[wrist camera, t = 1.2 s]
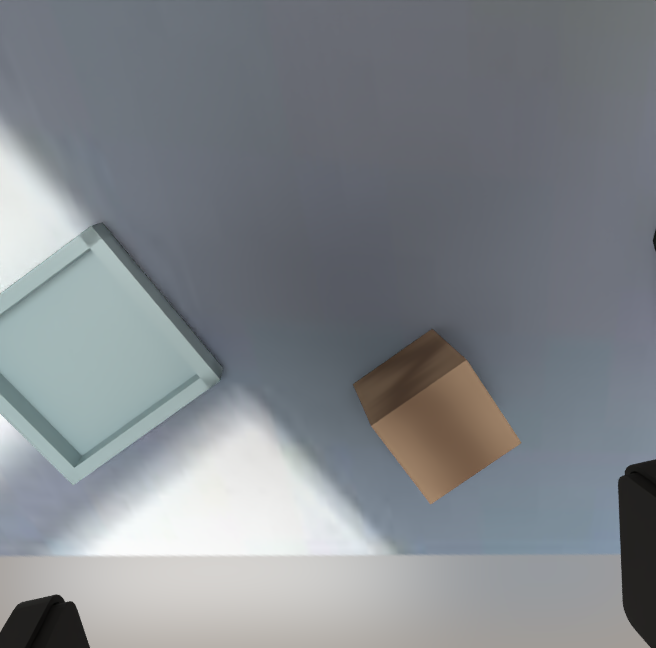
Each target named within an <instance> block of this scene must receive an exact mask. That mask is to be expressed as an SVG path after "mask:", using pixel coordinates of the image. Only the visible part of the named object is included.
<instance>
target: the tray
mask: <svg viewBox="0 0 656 648" xmlns="http://www.w3.org/2000/svg"><path fill="white" fill-rule="evenodd" d="M222 371H223V368H222V367H221V365H220V364H219V363H218V362H217V361H216V359H215V358H214V357H213V356H212V355H211V353H210V352H209V351H208V350H207V349H206V347H205V346H204V345H203V344H202V342H201V341H200V340H199V339H198V338H197V336H196V335H195V334H194V333H193V332H192V330H191V329H190V328H189V327H188V326H187V324H186V323H185V322H184V321H183V320H182V318H181V317H180V316H179V315H178V314H177V312H176V311H175V310H174V309H173V308H172V306H171V305H170V304H169V303H168V302H167V300H166V299H165V298H164V297H163V296H162V294H161V293H160V292H159V291H158V289H157V288H156V287H155V286H154V285H153V283H152V282H151V281H150V280H149V279H148V277H147V276H146V275H145V274H144V273H143V271H142V270H141V269H140V268H139V267H138V265H137V264H136V263H135V262H134V261H133V259H132V258H131V257H130V256H129V255H128V253H127V252H126V251H125V250H124V249H123V247H122V246H121V245H120V244H119V243H118V241H117V240H116V239H115V238H114V236H113V235H112V234H111V233H110V232H109V230H108V229H107V228H106V227H105V226H104V224H103V223H100V224H96V225H93V226H90V227H89V228H88V229H86V230H85V231H84V232H82V233H81V234H80V235H78V236H77V237H76V238H74V239H73V240H72V241H70V242H69V243H68V244H66V245H65V246H64V247H62V248H61V249H60V250H58V251H57V252H55V253H54V254H53V255H51V256H50V257H49V258H47V259H46V260H45V261H43V262H42V263H41V264H39V265H38V266H37V267H35V268H34V269H33V270H31V271H30V272H29V273H27V274H26V275H25V276H23V277H22V278H21V279H19V280H18V281H17V282H15V283H14V284H13V285H11V286H10V287H9V288H7V289H6V290H5V291H3V292H2V293H1V294H0V414H1V415H2V416H3V417H4V418H5V419H6V420H7V421H8V422H9V423H10V424H11V425H12V426H13V427H14V428H15V429H16V430H17V431H18V432H19V433H20V434H21V435H22V436H23V437H24V438H25V439H27V440H28V441H29V442H30V443H31V444H32V445H33V446H34V447H35V448H36V449H37V450H38V451H39V452H40V453H41V454H42V455H43V456H44V457H45V458H46V459H47V460H48V461H49V462H50V463H51V464H52V465H53V466H54V467H55V468H56V469H57V470H58V471H59V472H60V473H61V474H62V475H63V476H64V477H65V478H66V479H67V480H68V481H69V482H70V483H71V484H72V485H74V484H76V483H77V482H79V481H80V480H81V479H83V478H84V477H86V476H87V475H88V474H90V473H91V472H93V471H94V470H96V469H97V468H98V467H100V466H101V465H103V464H104V463H105V462H107V461H108V460H110V459H111V458H112V457H114V456H115V455H117V454H118V453H119V452H121V451H122V450H124V449H125V448H126V447H128V446H129V445H131V444H132V443H133V442H135V441H136V440H138V439H139V438H140V437H142V436H143V435H145V434H146V433H147V432H149V431H150V430H152V429H153V428H154V427H156V426H157V425H159V424H160V423H161V422H163V421H164V420H166V419H167V418H168V417H170V416H171V415H173V414H174V413H175V412H177V411H178V410H180V409H181V408H182V407H184V406H185V405H187V404H188V403H190V402H191V401H192V400H194V399H195V398H197V397H198V396H199V395H201V394H202V393H204V392H205V391H206V390H208V389H209V388H211V387H212V386H213V385H215V384H216V383H218V382H219V381H220V380H221V376H222Z"/></svg>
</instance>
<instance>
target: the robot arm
mask: <svg viewBox="0 0 656 648" xmlns="http://www.w3.org/2000/svg"><path fill="white" fill-rule="evenodd" d="M618 493H619V519H620V544H621V569H622V593H623V594H622V595H623V607H624V610H625V613H626V616H627V618H628V620H629V622H630V623H631V625H632V626H633V627H634V629H635V630H636V631H637V632H638V634H639V635H640V636H641V637H642V638H643V639H644V640H645V642H646V643H647V644H648V645H649V646H650V647H651V648H656V459H655V460H651V461H646V462H642V463H638V464H633V465H630V466H628V467H627V468H626V470H625V475H624V476H622V477H620V479H619V481H618ZM0 648H90V647H89V644H88V640H87V638H86V634H85V632H84V629H83V625H82V622H81V620H80V616H79V613H78V610H77V608H76V606H75V604H74V603H73V602H71V601H69V602H65V601H64V599H63V598H62V597H61V596H60V595H52V596H48V597H43V598H39V599H34V600H30V601H25V602H22V603H20V604H18V605H17V606H16V607H15V609H14V610H13V612H12V614H11V615H10V617H9V618H8V620H7V622H6V623H5V625H4V627H3V628H2V630H1V632H0Z"/></svg>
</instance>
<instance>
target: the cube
mask: <svg viewBox="0 0 656 648" xmlns="http://www.w3.org/2000/svg"><path fill="white" fill-rule="evenodd" d="M353 386H354V388H355V390H356V392H357V395H358V397H359V399H360V402H361V404H362V406H363V408H364V411H365V413H366V415H367V418H368V420H369V422H370V424H371V426H372V428H373V429H374V430H375V432H376V433H377V434H378V436H379V437H380V438H381V440H382V441H383V442H384V444H385V445H386V446H387V447H388V449H389V450H390V451H391V453H392V454H393V455H394V457H395V458H396V459H397V461H398V462H399V463H400V465H401V466H402V467H403V469H404V470H405V471H406V473H407V474H408V475H409V476H410V478H411V479H412V480H413V482H414V483H415V484H416V486H417V487H418V488H419V490H420V491H421V492H422V494H423V495H424V496H425V498H426V499H427V500H428V502H429V503H430V504H432V503H433V502H435V501H436V500H438V499H439V498H441V497H442V496H444V495H445V494H447V493H448V492H450V491H451V490H453V489H454V488H456V487H457V486H459V485H460V484H461V483H463V482H464V481H466V480H467V479H469V478H470V477H472V476H473V475H475V474H476V473H478V472H479V471H481V470H482V469H484V468H485V467H487V466H488V465H490V464H491V463H492V462H494V461H495V460H497V459H498V458H500V457H501V456H503V455H504V454H506V453H507V452H509V451H510V450H512V449H513V448H515V447H516V446H518V445H519V444H521V441H520V440H519V438H518V437H517V435H516V434H515V432H514V431H513V429H512V428H511V426H510V425H509V423H508V422H507V420H506V419H505V417H504V416H503V414H502V413H501V411H500V410H499V408H498V407H497V405H496V404H495V402H494V401H493V399H492V397H491V396H490V394H489V393H488V391H487V390H486V388H485V387H484V385H483V384H482V382H481V381H480V379H479V378H478V376H477V375H476V373H475V372H474V370H473V369H472V367H471V366H470V364H469V363H468V361H467V360H466V359H465V358H464V357H463V356H462V355H461V354H460V353H458V352H457V351H456V350H455V349H454V348H453V347H452V346H451V345H450V344H448V343H447V342H446V341H445V340H444V339H443V338H442V337H441V336H439V335H438V334H437V333H436V332H435V331H434V330H433V329H431V330H430V331H428V332H427V333H425V334H424V335H423V336H421V337H420V338H418V339H417V340H415V341H414V342H413V343H411V344H410V345H408V346H407V347H405V348H404V349H403V350H401V351H400V352H398V353H397V354H395V355H394V356H393V357H391V358H390V359H388V360H387V361H385V362H384V363H383V364H381V365H380V366H378V367H377V368H375V369H374V370H373V371H371V372H370V373H368V374H367V375H366V376H364V377H363V378H361V379H360V380H358V381H357V382H356V383H354V384H353Z"/></svg>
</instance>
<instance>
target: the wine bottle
mask: <svg viewBox="0 0 656 648" xmlns="http://www.w3.org/2000/svg"><path fill="white" fill-rule="evenodd" d="M653 242H654V246H655V250H656V231H655V235H654V240H653Z"/></svg>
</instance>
